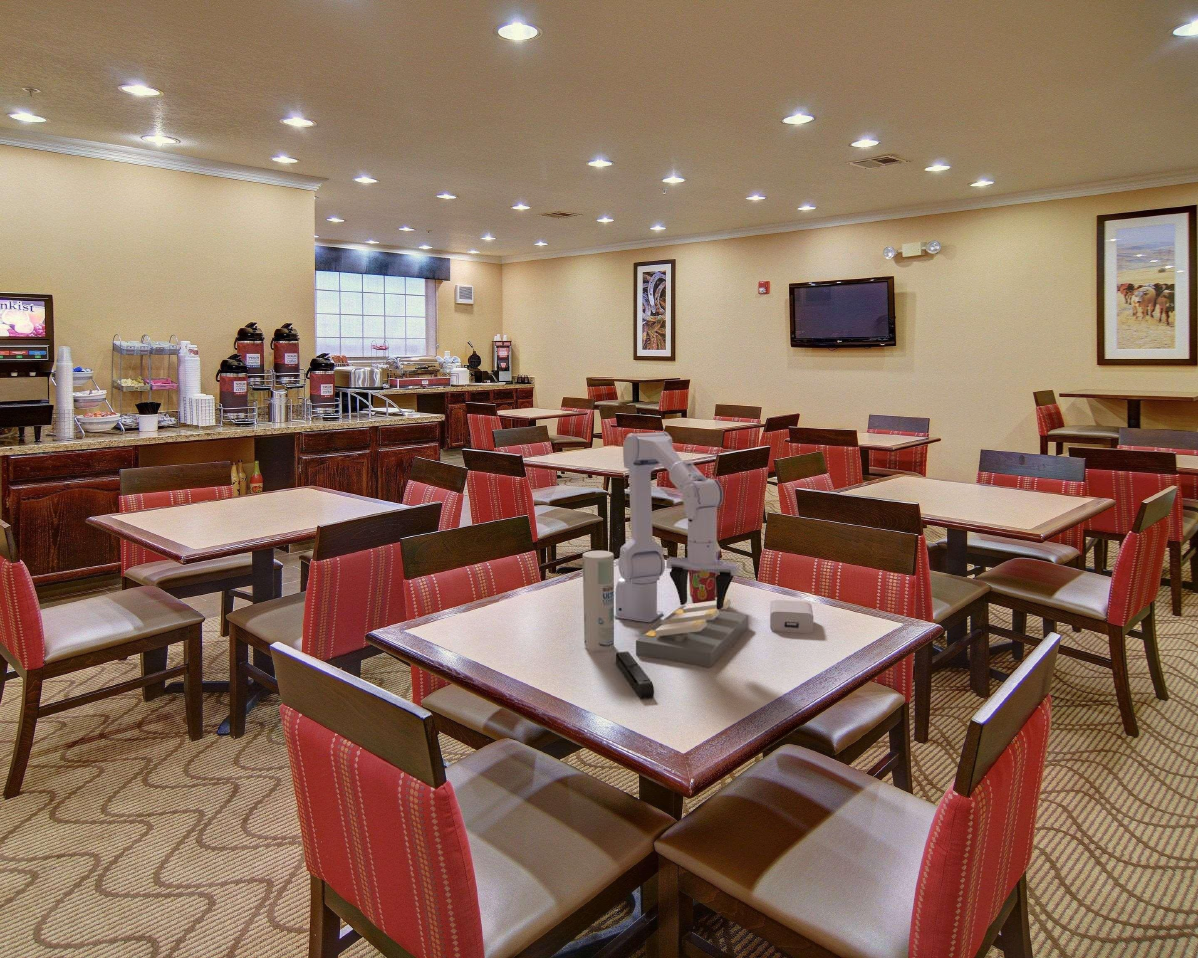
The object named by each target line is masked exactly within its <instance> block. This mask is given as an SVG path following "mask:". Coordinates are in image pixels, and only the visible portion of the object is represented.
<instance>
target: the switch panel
mask: <svg viewBox="0 0 1198 958" xmlns="http://www.w3.org/2000/svg"><path fill="white" fill-rule="evenodd" d="M686 606H687V605H681V606H680V607H678V608H676V609H675V610H674V611H673V612H672V613H670V614H669V615H668V616H667V617H665V618H664V619H662V620H661V621H660V622H658V623H657V624H655V625H654V626H653V627H652V628H650V629H649V630H648V631H646V632H645V633H643V635H640V637H639V638H637V639H636V640H635V656H642V657H648V658H652V659H659V660H665V661H671V662H676V663H682V664H688V665H694V666H699V667H704V668H705V667H706V668H711V667H713V666H714V665H715V664H716V662H718V661H719V659H720V658H721V657H722V656H723V655H724V654H726V652H727V651H728V650H729V649H730V648H731V647H732V645H734V644H735V643H736V641H738V639H739V638H741V636H742V635H743V634H744V633H745V632H746V631H747V630H748V629H749V622H750V621H749V614H743V613H738V612H731V611H725V610H724V611H723V610H719V615H718V616H717V617H716V618H715V619H713V620H706V623H707V626H706V627H704V628H703V629H702V630H701V631H697V632H688V633H680V634H672V635H663V636H656V635H655V630H656V629H657V628H659V627H660V626H661V625H666V624H670V621H669V619H670V618H672V617H673V616H674V615H676V614H681V613H683V608H685V607H686Z"/></svg>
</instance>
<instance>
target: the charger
mask: <svg viewBox="0 0 1198 958" xmlns="http://www.w3.org/2000/svg"><path fill="white" fill-rule="evenodd" d="M769 606H770V609H769V611H770V612H769V616H770V617H769V618H770V619H769V621H770V622H769V625H770V627H769V628H770V630H771V631H773V632H787V633H788V632H789V633H800V632H802V633H804V634H805V633H806V634H812V633H813V632H814V613H813V612H814V610H813V608H812V603H810V602H808V601H801V600H800V601H799V600H786V599H785V600H784V599H783V600H782V599H774V600H772V601H771V602H770V605H769Z"/></svg>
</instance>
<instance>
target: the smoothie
mask: <svg viewBox="0 0 1198 958" xmlns="http://www.w3.org/2000/svg"><path fill="white" fill-rule="evenodd" d="M686 549H687V550H688V546H686ZM721 550H722V548H721V547H720V545H719V541H717V542H716V560H719V561H721ZM717 575H719V573H714V572H705V571H696V570H689V572H688V582H689V587H688V588H689V596H690V597H691V601H692V602H694V603H701V602H709V601H716V599H717V587H716V580H715V577H716V576H717Z"/></svg>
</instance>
